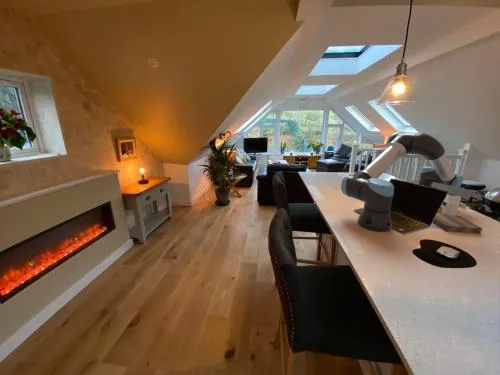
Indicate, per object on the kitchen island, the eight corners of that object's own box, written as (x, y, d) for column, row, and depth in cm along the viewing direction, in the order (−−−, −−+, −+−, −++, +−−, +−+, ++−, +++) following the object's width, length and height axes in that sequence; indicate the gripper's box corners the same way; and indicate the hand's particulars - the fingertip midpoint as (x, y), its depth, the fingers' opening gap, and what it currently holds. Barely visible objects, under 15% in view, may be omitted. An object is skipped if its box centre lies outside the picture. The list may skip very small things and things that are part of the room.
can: (458, 217, 127) (464, 196, 124) (445, 216, 128) (451, 196, 125) (451, 212, 133) (456, 193, 130) (438, 211, 134) (443, 192, 131)
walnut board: (445, 231, 110) (446, 225, 110) (427, 218, 125) (428, 213, 124) (480, 233, 108) (482, 228, 107) (457, 220, 122) (459, 215, 122)
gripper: (447, 200, 146) (475, 214, 124) (414, 198, 148) (436, 212, 127) (450, 189, 143) (480, 201, 122) (417, 187, 146) (440, 199, 124)
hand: (457, 206), depth 124 cm, fingers closed on can, 6 cm apart
